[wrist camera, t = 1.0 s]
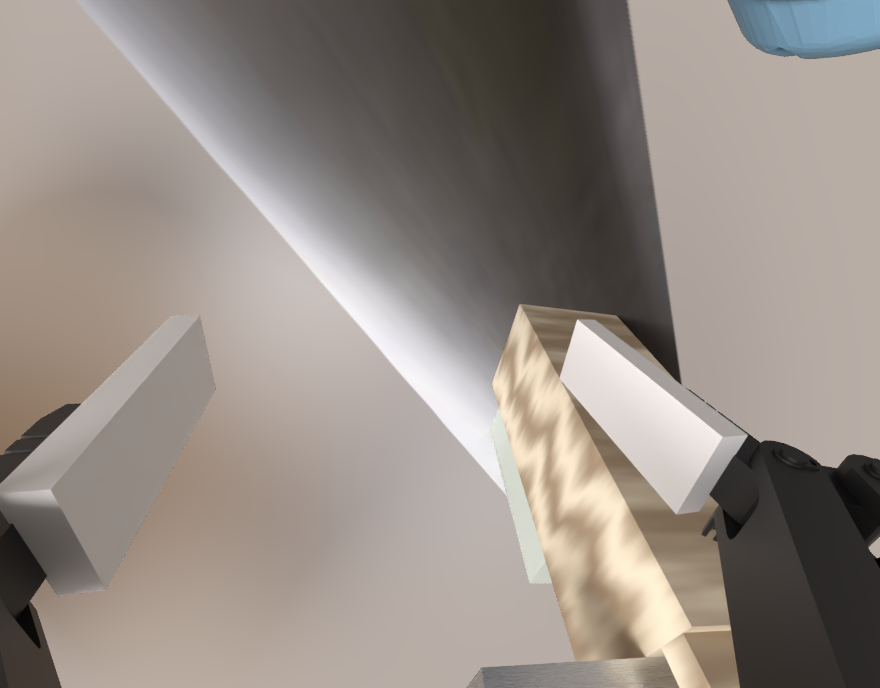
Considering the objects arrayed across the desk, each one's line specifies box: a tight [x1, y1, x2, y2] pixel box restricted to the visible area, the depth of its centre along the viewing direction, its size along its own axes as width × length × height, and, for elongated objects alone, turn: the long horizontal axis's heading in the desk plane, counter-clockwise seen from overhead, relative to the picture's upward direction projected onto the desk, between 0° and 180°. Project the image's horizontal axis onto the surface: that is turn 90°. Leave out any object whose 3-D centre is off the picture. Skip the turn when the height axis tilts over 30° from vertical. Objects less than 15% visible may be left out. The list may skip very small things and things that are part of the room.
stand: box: [492, 304, 740, 688], centre depth 33 cm, size 12×12×32 cm
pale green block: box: [490, 407, 552, 584], centre depth 44 cm, size 7×14×20 cm, turn 80°
